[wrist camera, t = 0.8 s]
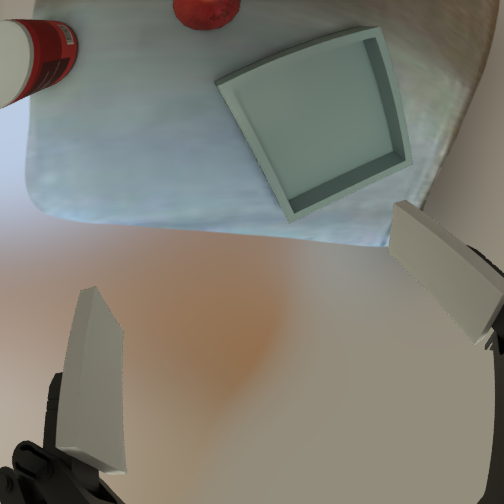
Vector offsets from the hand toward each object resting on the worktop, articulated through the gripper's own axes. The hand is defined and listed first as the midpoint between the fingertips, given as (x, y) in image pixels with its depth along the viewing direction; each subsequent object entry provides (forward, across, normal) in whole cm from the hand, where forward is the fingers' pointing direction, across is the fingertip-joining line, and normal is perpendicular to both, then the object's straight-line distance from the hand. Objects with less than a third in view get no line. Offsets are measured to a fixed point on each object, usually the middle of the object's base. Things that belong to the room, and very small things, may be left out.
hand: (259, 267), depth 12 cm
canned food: (+23, -14, +16) cm, 31 cm away
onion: (+22, +3, +15) cm, 27 cm away
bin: (+22, +14, +1) cm, 26 cm away
